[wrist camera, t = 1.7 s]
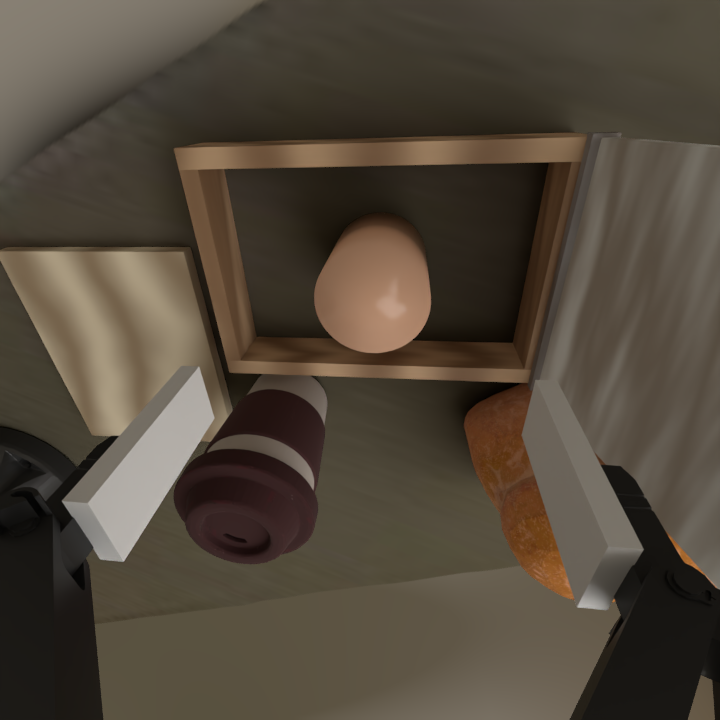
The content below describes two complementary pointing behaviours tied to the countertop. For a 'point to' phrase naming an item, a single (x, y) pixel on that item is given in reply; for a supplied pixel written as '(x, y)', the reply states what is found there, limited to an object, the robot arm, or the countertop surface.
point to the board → (119, 326)
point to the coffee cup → (258, 473)
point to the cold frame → (544, 298)
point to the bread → (519, 485)
